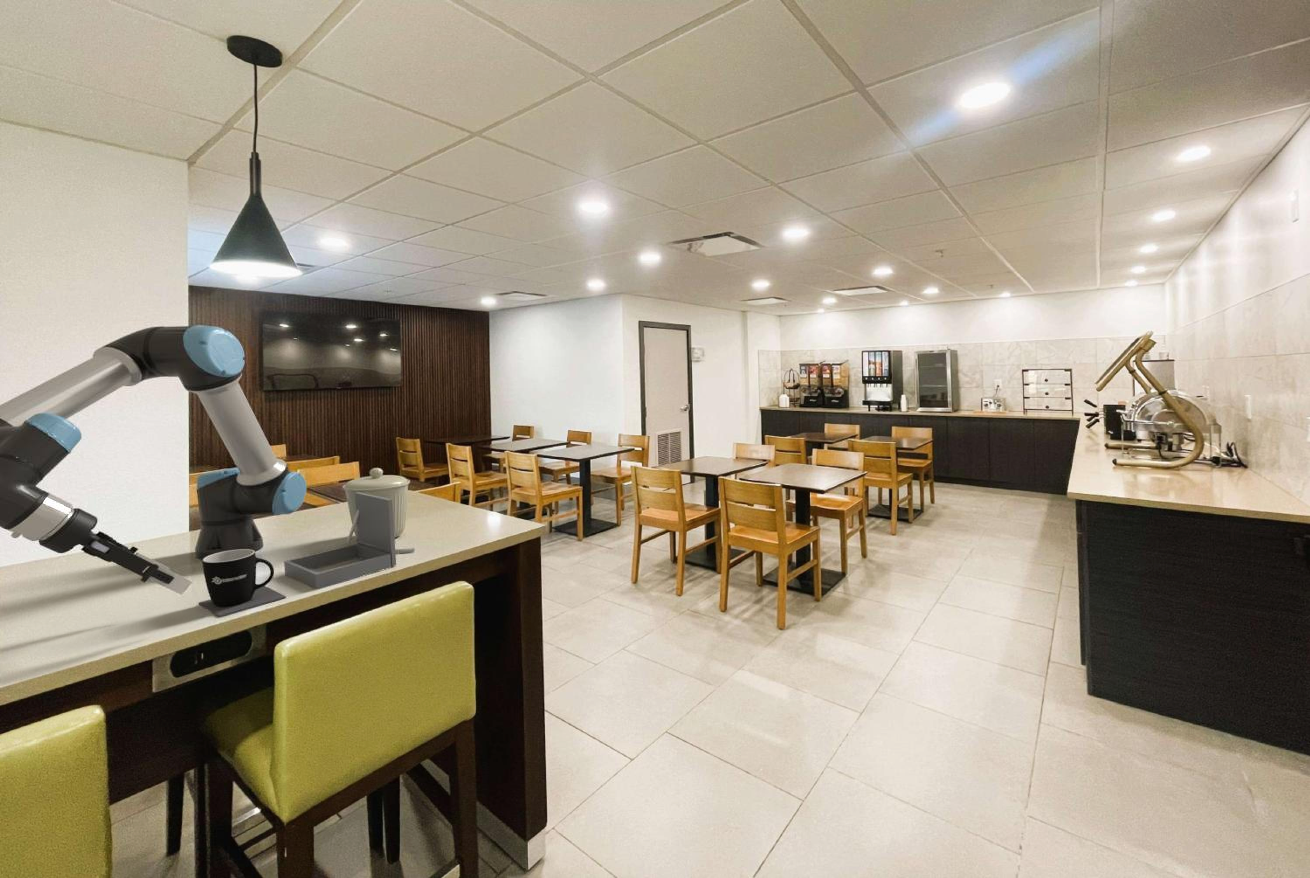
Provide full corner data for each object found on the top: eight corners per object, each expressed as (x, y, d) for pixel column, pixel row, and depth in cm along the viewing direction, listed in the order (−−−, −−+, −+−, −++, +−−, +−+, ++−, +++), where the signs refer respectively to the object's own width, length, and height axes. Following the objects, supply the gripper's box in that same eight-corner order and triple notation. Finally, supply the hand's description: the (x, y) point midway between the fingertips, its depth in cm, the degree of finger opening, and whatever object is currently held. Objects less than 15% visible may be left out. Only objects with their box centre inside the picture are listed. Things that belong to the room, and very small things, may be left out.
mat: (198, 604, 119) (198, 602, 119) (263, 586, 129) (263, 585, 129) (219, 617, 112) (219, 615, 112) (286, 598, 122) (285, 596, 122)
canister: (361, 530, 177) (356, 464, 175) (420, 527, 179) (417, 462, 176) (335, 547, 159) (329, 474, 157) (401, 544, 161) (397, 472, 159)
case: (285, 575, 137) (279, 505, 135) (362, 554, 152) (358, 492, 150) (316, 589, 127) (310, 514, 125) (396, 566, 142) (392, 499, 140)
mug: (203, 613, 114) (198, 565, 112) (210, 599, 121) (205, 553, 120) (274, 600, 120) (270, 554, 119) (277, 587, 127) (273, 544, 126)
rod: (366, 557, 151) (366, 552, 151) (367, 555, 152) (367, 551, 152) (414, 553, 154) (413, 549, 153) (414, 552, 155) (414, 548, 155)
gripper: (23, 531, 103) (140, 584, 117) (50, 556, 89) (180, 612, 103) (60, 498, 107) (170, 553, 121) (92, 516, 92) (212, 576, 106)
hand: (175, 580), depth 112 cm, fingers open, 13 cm apart
